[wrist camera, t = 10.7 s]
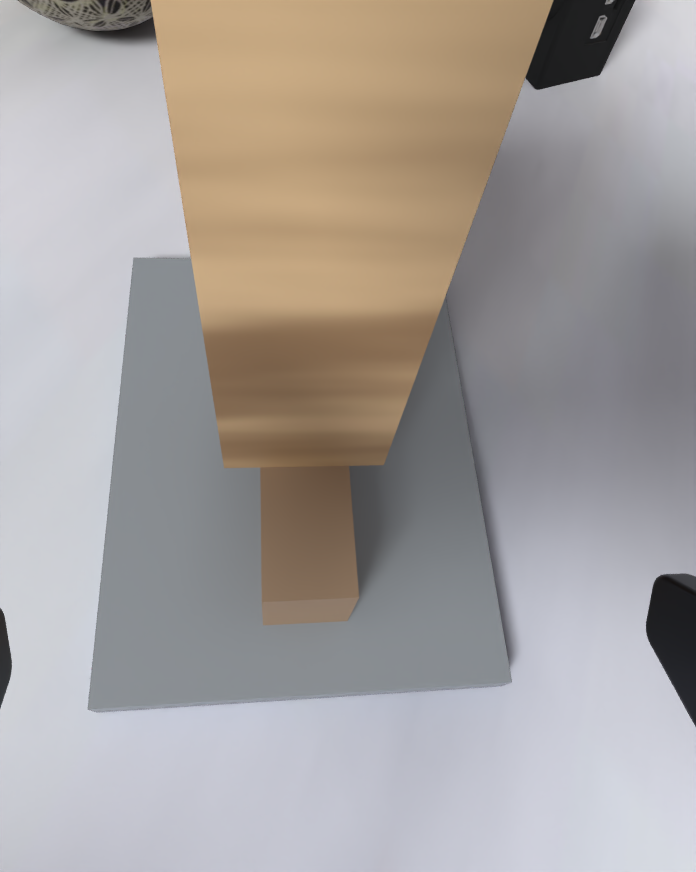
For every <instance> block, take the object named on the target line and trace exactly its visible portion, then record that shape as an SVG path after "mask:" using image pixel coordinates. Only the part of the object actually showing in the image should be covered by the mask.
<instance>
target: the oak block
mask: <svg viewBox="0 0 696 872" xmlns="http://www.w3.org/2000/svg"><path fill="white" fill-rule="evenodd" d="M552 3H553V0H151V6H152V13H153V19H154V26H155V32H156V38H157V45H158V51H159V57H160V64H161V70H162V76H163V83H164V89H165V96H166V102H167V108H168V115H169V121H170V127H171V134H172V140H173V146H174V153H175V159H176V166H177V172H178V178H179V185H180V191H181V197H182V204H183V210H184V216H185V223H186V229H187V235H188V242H189V248H190V255H191V261H192V267H193V274H194V280H195V286H196V293H197V299H198V305H199V312H200V318H201V325H202V331H203V337H204V344H205V350H206V356H207V363H208V369H209V375H210V382H211V388H212V395H213V401H214V407H215V414H216V420H217V426H218V433H219V439H220V445H221V452H222V458H223V465H224V468H260V467H315V466H369V465H384V463H385V460H386V458H387V455H388V452H389V449H390V447H391V444H392V441H393V438H394V436H395V433H396V430H397V427H398V425H399V422H400V419H401V416H402V414H403V411H404V408H405V406H406V403H407V400H408V397H409V395H410V392H411V389H412V386H413V384H414V381H415V378H416V375H417V373H418V370H419V367H420V364H421V362H422V359H423V356H424V354H425V351H426V348H427V345H428V343H429V340H430V337H431V334H432V332H433V329H434V326H435V323H436V321H437V318H438V315H439V312H440V310H441V307H442V304H443V301H444V299H445V296H446V293H447V291H448V288H449V285H450V282H451V280H452V277H453V274H454V271H455V269H456V266H457V263H458V260H459V258H460V255H461V252H462V249H463V247H464V244H465V241H466V238H467V236H468V233H469V230H470V228H471V225H472V222H473V219H474V217H475V214H476V211H477V208H478V206H479V203H480V200H481V197H482V195H483V192H484V189H485V186H486V184H487V181H488V178H489V175H490V173H491V170H492V167H493V165H494V162H495V159H496V156H497V154H498V151H499V148H500V145H501V143H502V140H503V137H504V134H505V132H506V129H507V126H508V123H509V121H510V118H511V115H512V112H513V110H514V107H515V104H516V102H517V99H518V96H519V93H520V91H521V88H522V85H523V82H524V80H525V77H526V74H527V71H528V69H529V66H530V63H531V60H532V58H533V55H534V52H535V49H536V47H537V44H538V41H539V39H540V36H541V33H542V30H543V28H544V25H545V22H546V19H547V17H548V14H549V11H550V8H551V6H552Z"/></svg>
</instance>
